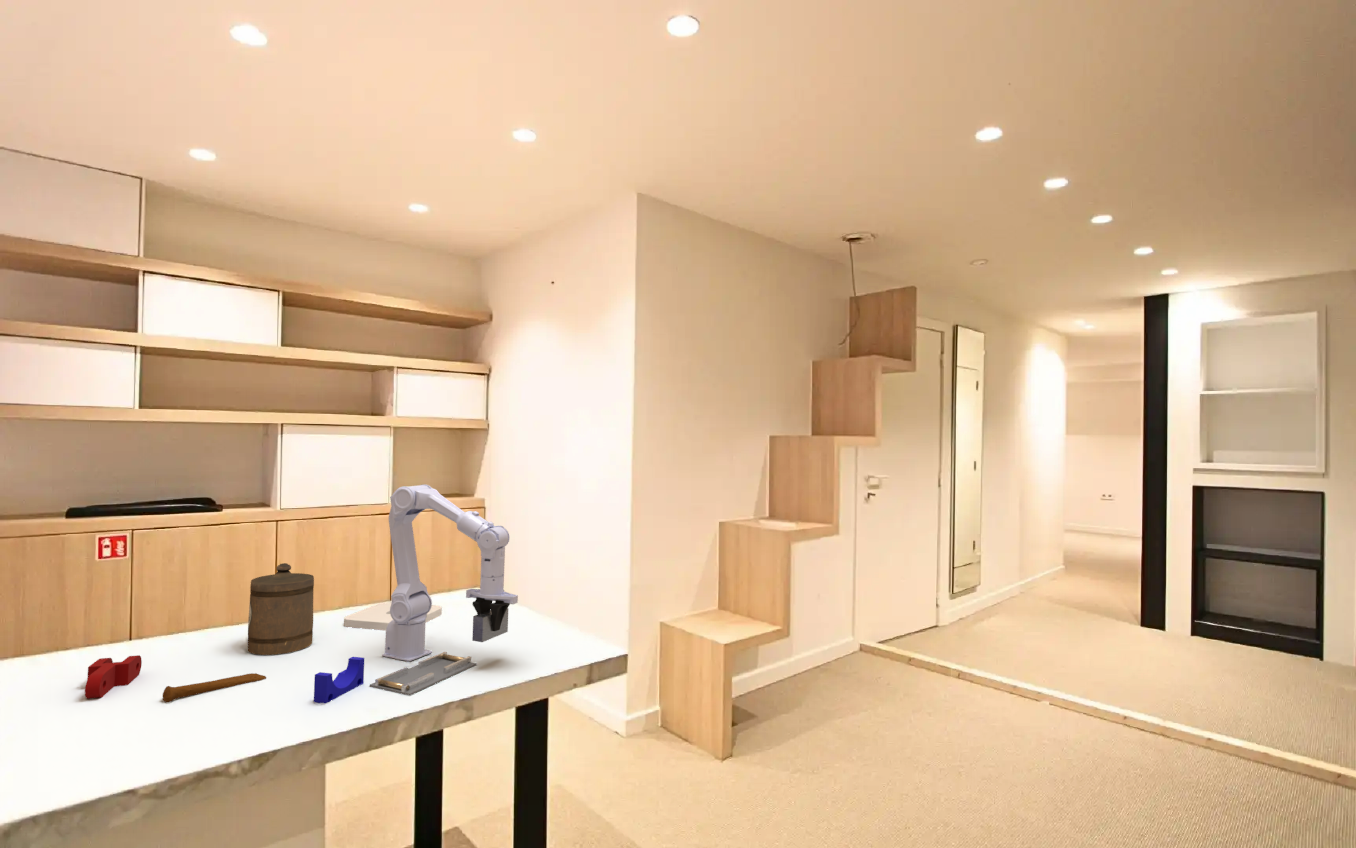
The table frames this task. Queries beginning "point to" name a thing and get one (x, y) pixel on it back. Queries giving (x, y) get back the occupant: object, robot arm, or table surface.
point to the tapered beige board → (380, 617)
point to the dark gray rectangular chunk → (487, 626)
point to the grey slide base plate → (417, 673)
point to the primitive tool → (208, 686)
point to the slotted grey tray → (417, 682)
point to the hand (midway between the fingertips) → (490, 629)
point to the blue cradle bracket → (339, 681)
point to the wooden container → (280, 612)
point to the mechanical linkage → (111, 675)
